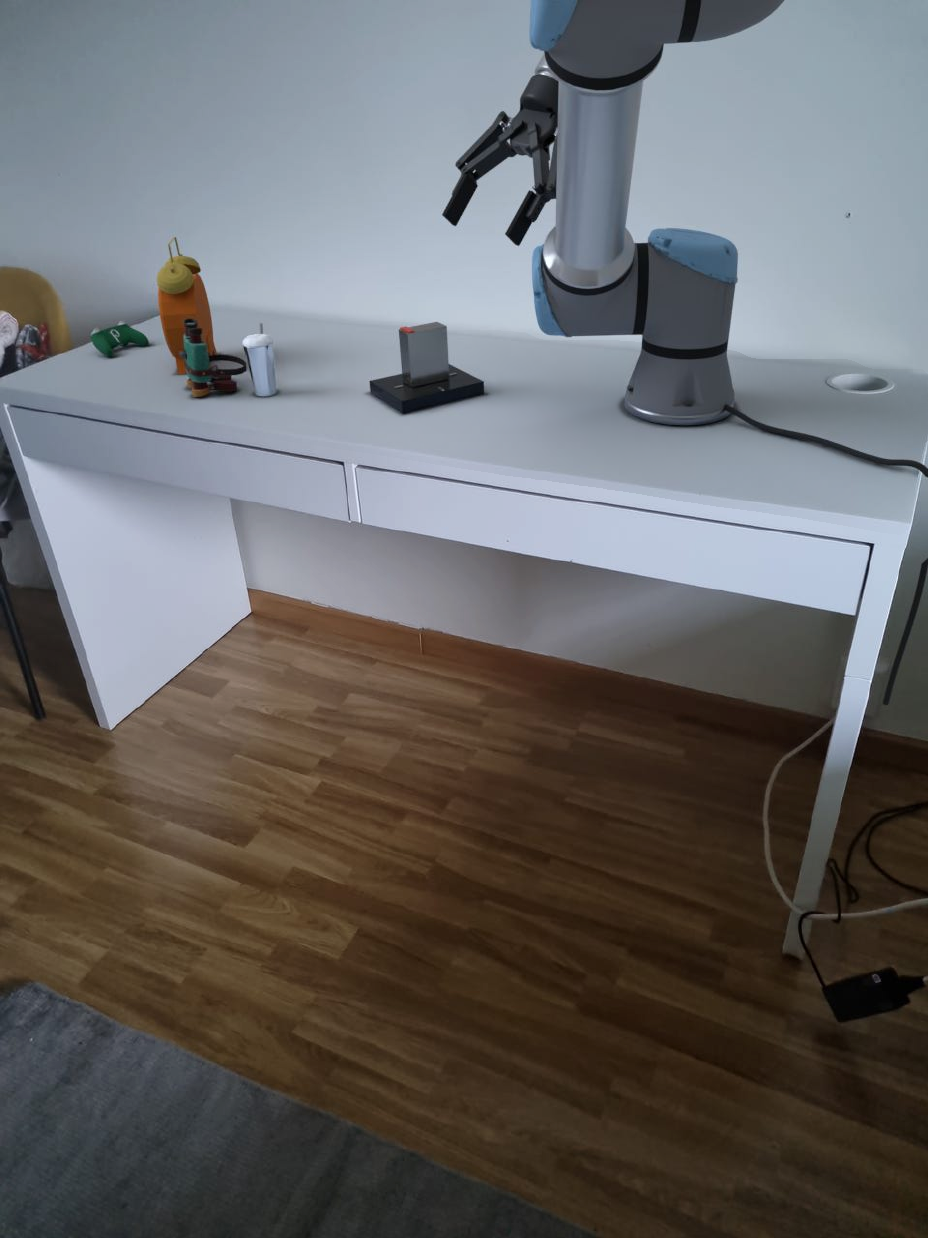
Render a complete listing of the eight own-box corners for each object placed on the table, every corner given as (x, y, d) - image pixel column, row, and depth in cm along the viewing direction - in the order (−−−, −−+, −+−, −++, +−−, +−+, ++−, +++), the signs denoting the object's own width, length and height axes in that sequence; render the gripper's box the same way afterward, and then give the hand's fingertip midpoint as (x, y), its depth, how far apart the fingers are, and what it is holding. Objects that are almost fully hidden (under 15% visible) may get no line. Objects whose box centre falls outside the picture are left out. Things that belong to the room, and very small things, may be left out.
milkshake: (285, 386, 142) (275, 322, 137) (276, 398, 138) (265, 332, 132) (257, 386, 143) (246, 322, 137) (247, 398, 138) (236, 333, 133)
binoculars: (247, 327, 136) (180, 330, 132) (252, 396, 141) (187, 400, 138) (236, 314, 143) (171, 316, 139) (241, 379, 148) (179, 383, 144)
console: (448, 375, 144) (448, 361, 142) (484, 394, 135) (484, 380, 134) (370, 393, 138) (369, 379, 137) (402, 414, 130) (401, 399, 129)
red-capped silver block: (439, 373, 138) (436, 319, 133) (449, 378, 136) (446, 324, 131) (402, 382, 135) (398, 327, 131) (411, 387, 133) (407, 332, 129)
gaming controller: (145, 352, 166) (125, 327, 166) (151, 340, 164) (131, 313, 163) (103, 366, 160) (83, 340, 160) (108, 353, 157) (87, 326, 157)
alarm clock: (184, 353, 159) (158, 233, 148) (219, 351, 159) (196, 231, 148) (172, 377, 148) (143, 249, 137) (209, 374, 148) (184, 247, 137)
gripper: (635, 119, 119) (554, 263, 122) (509, 97, 134) (439, 226, 137) (610, 80, 113) (526, 233, 116) (481, 62, 128) (409, 198, 131)
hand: (479, 230), depth 126 cm, fingers open, 13 cm apart
